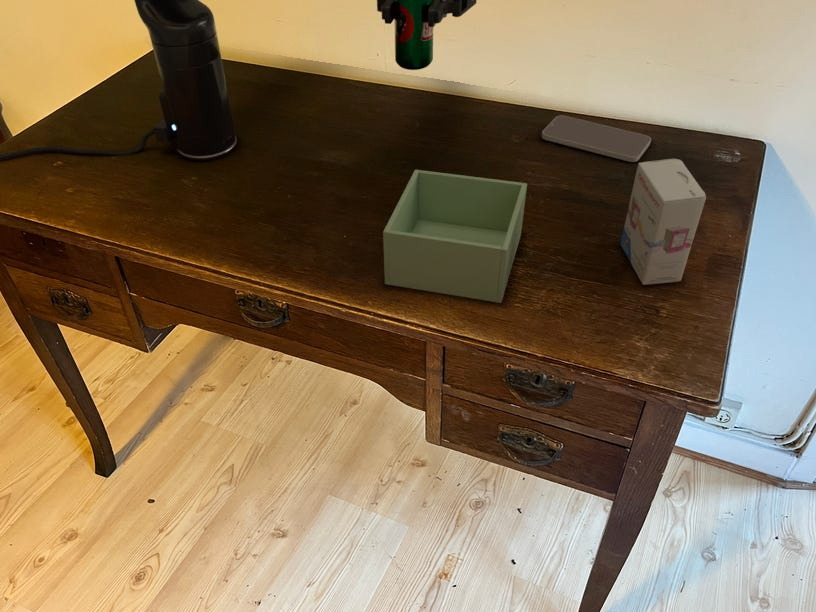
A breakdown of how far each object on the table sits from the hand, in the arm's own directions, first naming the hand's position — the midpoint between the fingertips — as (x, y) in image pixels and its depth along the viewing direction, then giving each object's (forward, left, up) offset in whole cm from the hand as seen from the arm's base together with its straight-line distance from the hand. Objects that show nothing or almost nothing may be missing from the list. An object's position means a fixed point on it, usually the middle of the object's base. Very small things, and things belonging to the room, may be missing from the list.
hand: (409, 17), depth 92 cm
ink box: (+34, -14, -22) cm, 43 cm away
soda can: (0, +3, -7) cm, 8 cm away
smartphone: (+25, +15, -22) cm, 36 cm away
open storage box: (+11, -19, -22) cm, 31 cm away
